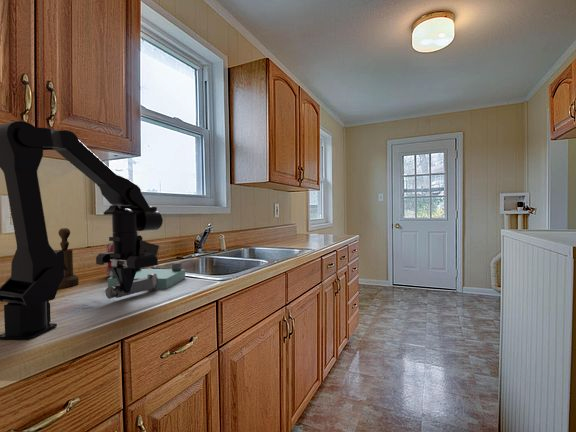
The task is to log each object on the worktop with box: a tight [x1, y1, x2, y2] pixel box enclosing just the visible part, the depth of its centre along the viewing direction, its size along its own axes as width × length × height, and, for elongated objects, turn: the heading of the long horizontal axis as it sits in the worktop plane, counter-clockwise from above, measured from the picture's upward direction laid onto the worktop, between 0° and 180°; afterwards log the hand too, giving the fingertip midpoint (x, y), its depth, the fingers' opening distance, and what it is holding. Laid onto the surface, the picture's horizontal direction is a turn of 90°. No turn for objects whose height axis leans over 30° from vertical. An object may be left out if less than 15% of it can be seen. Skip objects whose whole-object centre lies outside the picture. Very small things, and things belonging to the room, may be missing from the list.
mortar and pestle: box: [57, 227, 79, 289], centre depth 96 cm, size 7×6×18 cm
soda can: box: [105, 241, 113, 278], centre depth 109 cm, size 7×7×12 cm
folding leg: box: [105, 273, 158, 299], centre depth 83 cm, size 14×3×4 cm, turn 152°
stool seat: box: [107, 261, 186, 290], centre depth 98 cm, size 14×18×6 cm
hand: (127, 292), depth 79 cm, fingers closed
